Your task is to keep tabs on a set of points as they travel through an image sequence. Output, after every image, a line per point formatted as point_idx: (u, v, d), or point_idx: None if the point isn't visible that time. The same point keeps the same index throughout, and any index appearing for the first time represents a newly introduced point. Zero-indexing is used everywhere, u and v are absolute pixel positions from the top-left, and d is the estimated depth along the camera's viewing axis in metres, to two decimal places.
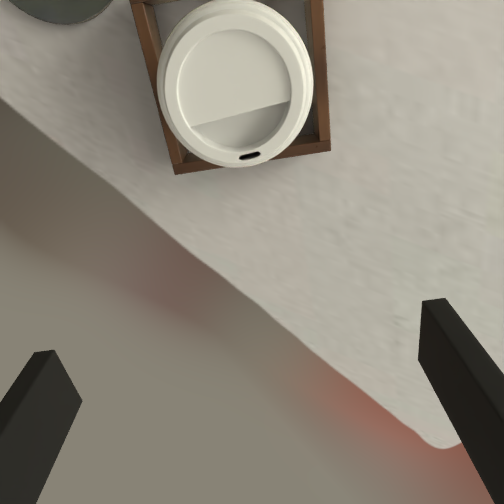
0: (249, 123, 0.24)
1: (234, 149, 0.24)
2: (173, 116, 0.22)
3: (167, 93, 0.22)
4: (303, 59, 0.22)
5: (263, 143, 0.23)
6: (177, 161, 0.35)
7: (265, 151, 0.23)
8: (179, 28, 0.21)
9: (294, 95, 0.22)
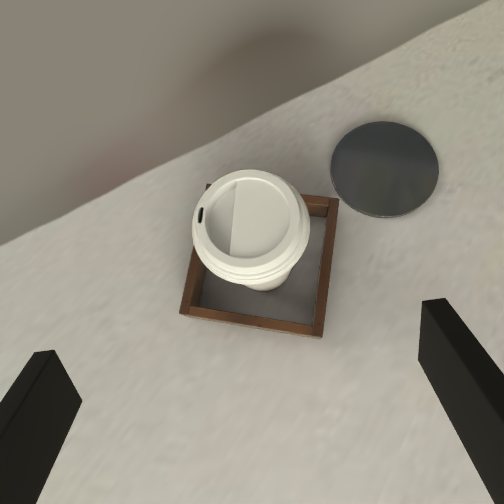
0: (223, 227, 0.30)
1: (209, 207, 0.30)
2: (247, 171, 0.30)
3: (263, 172, 0.30)
4: (254, 275, 0.29)
5: (206, 228, 0.29)
6: None
7: (199, 227, 0.29)
8: (300, 198, 0.30)
9: (232, 259, 0.28)
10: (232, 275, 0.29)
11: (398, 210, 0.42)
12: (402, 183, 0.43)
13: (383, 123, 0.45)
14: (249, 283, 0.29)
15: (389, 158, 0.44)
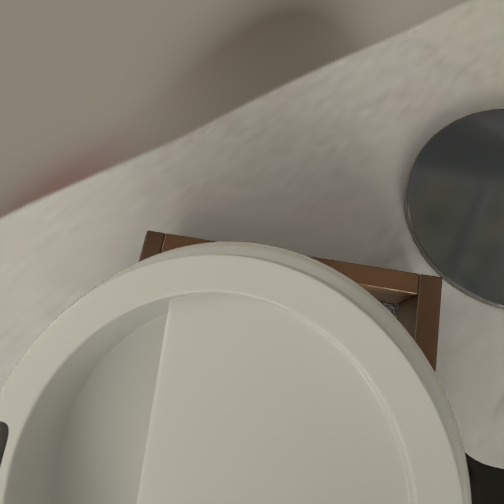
0: (115, 480, 0.07)
1: (51, 409, 0.07)
2: (215, 264, 0.07)
3: (284, 274, 0.07)
4: None
5: None
6: (166, 244, 0.20)
7: None
8: (435, 381, 0.07)
9: None
10: None
11: None
12: None
13: None
14: None
15: None
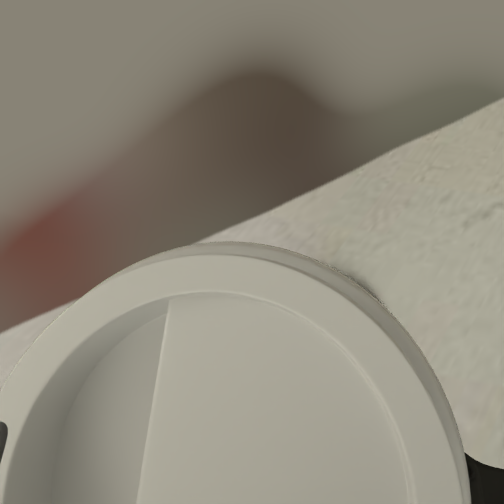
0: (114, 480, 0.07)
1: (51, 409, 0.07)
2: (214, 264, 0.07)
3: (283, 274, 0.07)
4: None
5: None
6: None
7: None
8: (435, 382, 0.07)
9: None
10: None
11: None
12: None
13: None
14: None
15: None
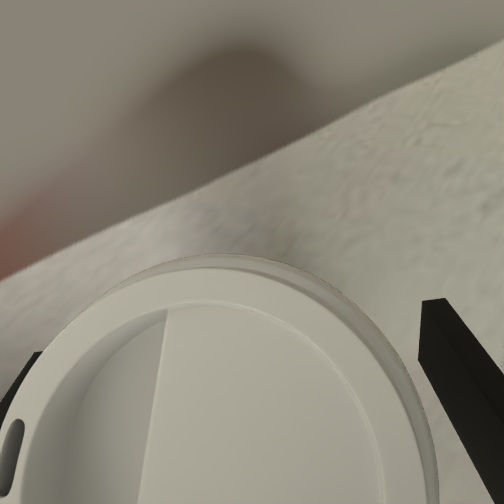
0: (119, 471, 0.08)
1: (62, 407, 0.08)
2: (208, 277, 0.08)
3: (270, 286, 0.08)
4: None
5: None
6: None
7: None
8: (407, 382, 0.08)
9: None
10: None
11: None
12: None
13: None
14: None
15: None
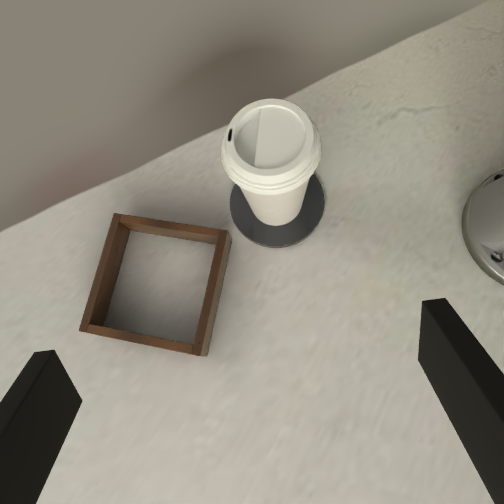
0: (248, 147, 0.36)
1: (237, 130, 0.36)
2: (270, 100, 0.35)
3: (283, 101, 0.35)
4: (274, 185, 0.34)
5: (234, 145, 0.35)
6: (121, 218, 0.47)
7: (229, 144, 0.35)
8: (314, 124, 0.35)
9: (256, 170, 0.34)
10: (255, 185, 0.34)
11: (285, 241, 0.47)
12: None
13: None
14: (269, 193, 0.35)
15: None
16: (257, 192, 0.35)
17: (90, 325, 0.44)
